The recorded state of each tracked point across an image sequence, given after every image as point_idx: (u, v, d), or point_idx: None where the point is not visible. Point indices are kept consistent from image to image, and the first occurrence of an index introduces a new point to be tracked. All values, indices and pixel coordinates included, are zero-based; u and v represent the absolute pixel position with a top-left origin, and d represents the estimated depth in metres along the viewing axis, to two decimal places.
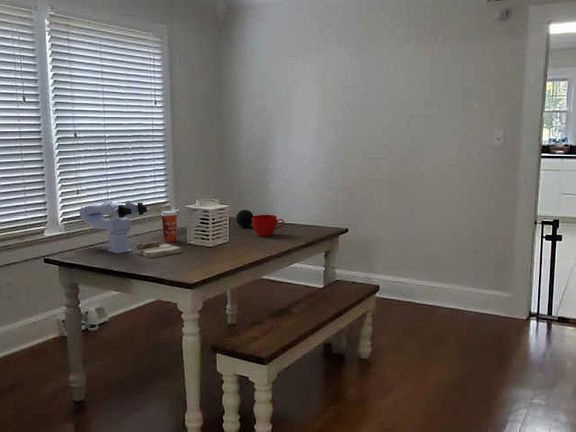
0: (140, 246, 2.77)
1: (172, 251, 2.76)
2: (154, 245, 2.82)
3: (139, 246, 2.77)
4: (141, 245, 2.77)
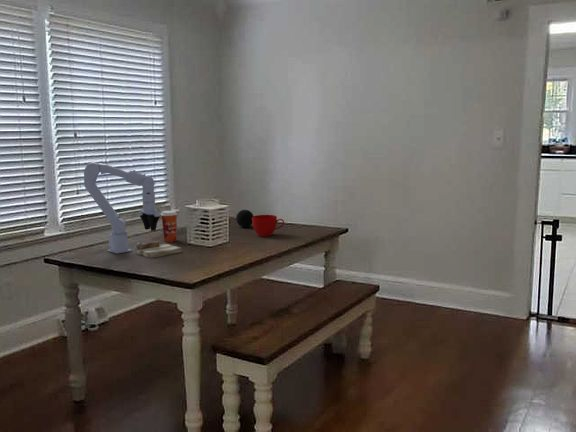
0: (140, 246, 2.77)
1: (172, 251, 2.76)
2: (154, 245, 2.82)
3: (139, 246, 2.77)
4: (141, 245, 2.77)
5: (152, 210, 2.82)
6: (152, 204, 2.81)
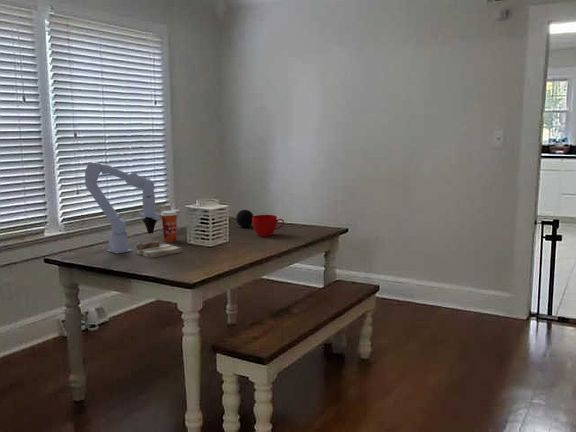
0: (140, 246, 2.77)
1: (172, 251, 2.76)
2: (154, 245, 2.82)
3: (139, 246, 2.77)
4: (141, 245, 2.77)
5: (152, 213, 2.82)
6: (152, 207, 2.82)
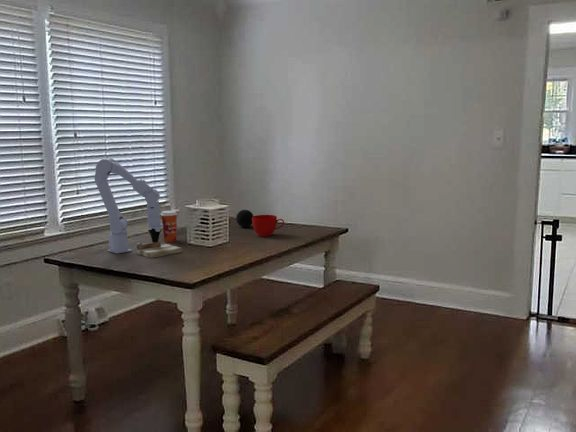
0: (140, 246, 2.77)
1: (172, 251, 2.76)
2: (155, 245, 2.81)
3: (139, 246, 2.77)
4: (141, 245, 2.77)
5: (155, 224, 2.79)
6: (155, 218, 2.79)
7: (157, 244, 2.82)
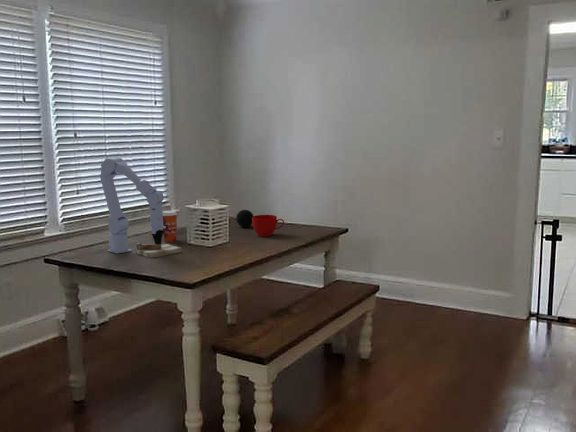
0: (138, 246, 2.77)
1: (172, 251, 2.76)
2: (154, 247, 2.77)
3: (137, 246, 2.77)
4: (139, 245, 2.77)
5: (155, 226, 2.75)
6: (155, 220, 2.74)
7: (157, 246, 2.77)
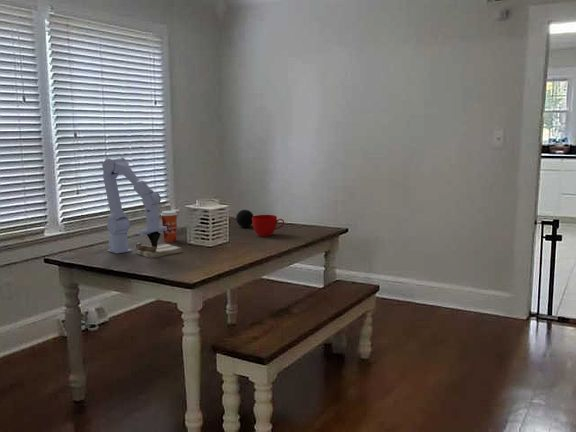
0: (137, 246, 2.77)
1: (172, 251, 2.76)
2: (148, 249, 2.73)
3: (136, 246, 2.77)
4: (138, 245, 2.77)
5: (148, 228, 2.70)
6: (148, 222, 2.70)
7: (150, 248, 2.72)
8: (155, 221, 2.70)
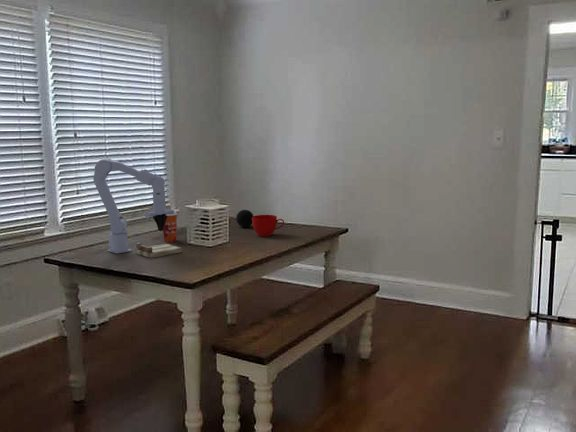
0: (137, 246, 2.77)
1: (172, 251, 2.76)
2: (145, 250, 2.72)
3: (136, 246, 2.77)
4: (137, 245, 2.77)
5: (154, 211, 2.80)
6: (154, 205, 2.80)
7: (146, 249, 2.71)
8: (161, 204, 2.79)
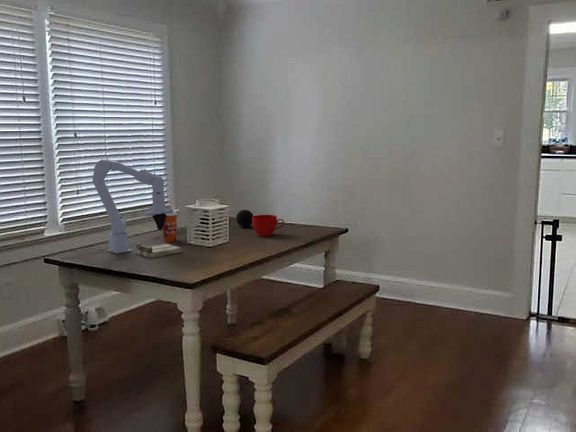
0: (137, 246, 2.77)
1: (172, 251, 2.76)
2: (145, 250, 2.72)
3: (136, 246, 2.77)
4: (137, 245, 2.77)
5: (153, 210, 2.82)
6: (153, 204, 2.81)
7: (146, 249, 2.71)
8: (160, 203, 2.81)
